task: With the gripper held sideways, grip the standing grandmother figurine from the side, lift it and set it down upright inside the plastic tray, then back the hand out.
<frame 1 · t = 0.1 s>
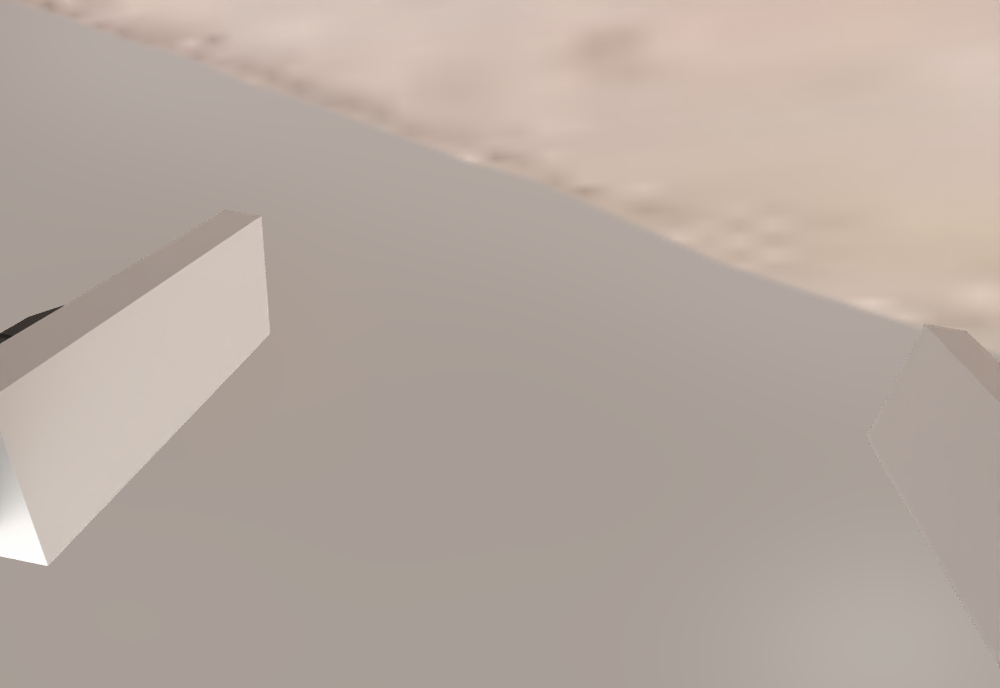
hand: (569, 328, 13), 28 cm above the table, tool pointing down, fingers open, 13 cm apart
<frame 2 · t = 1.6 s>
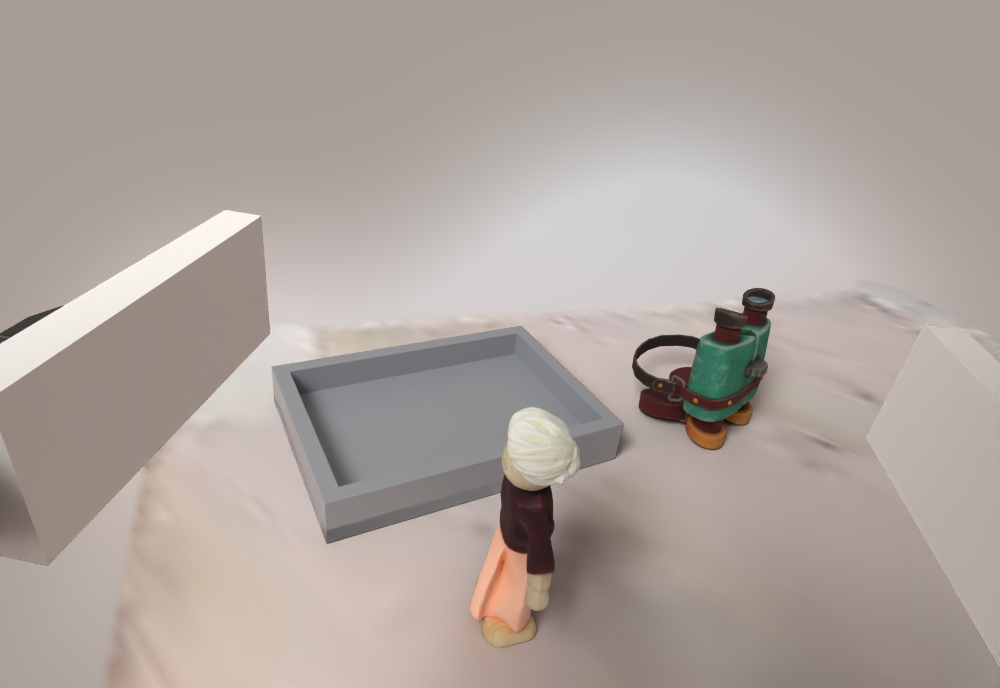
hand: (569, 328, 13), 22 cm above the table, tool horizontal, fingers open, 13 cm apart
binoculars: (681, 411, 51), on the table
tray: (442, 429, 45), on the table
grandmother figurine: (505, 619, 33), on the table
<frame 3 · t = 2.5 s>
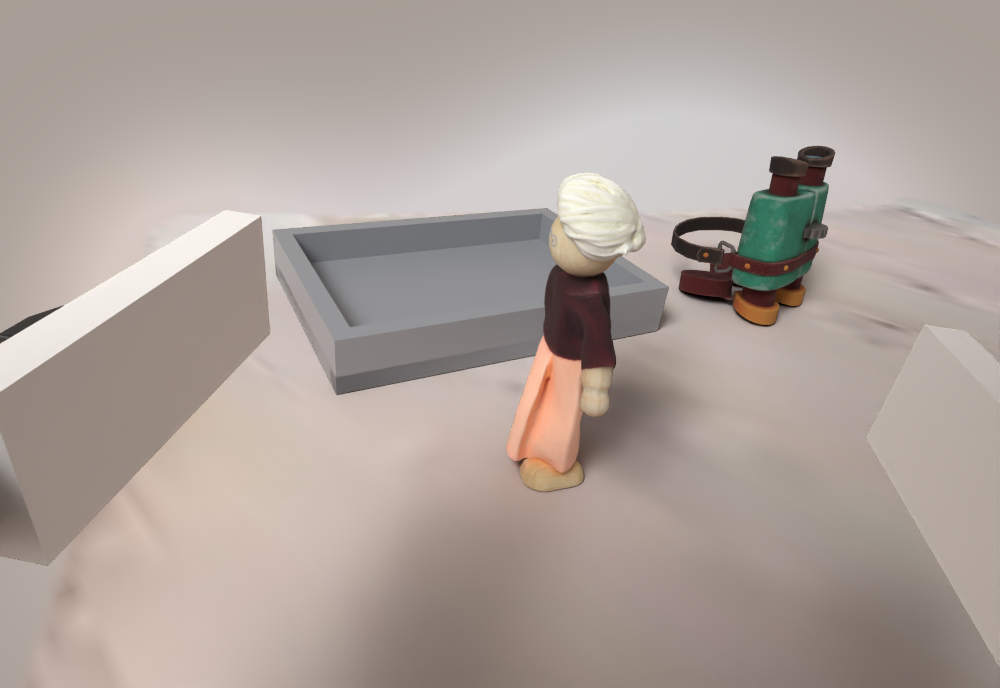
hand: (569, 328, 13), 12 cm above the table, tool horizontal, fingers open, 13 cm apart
binoculars: (725, 295, 46), on the table
tray: (463, 301, 40), on the table
grandmother figurine: (546, 467, 28), on the table
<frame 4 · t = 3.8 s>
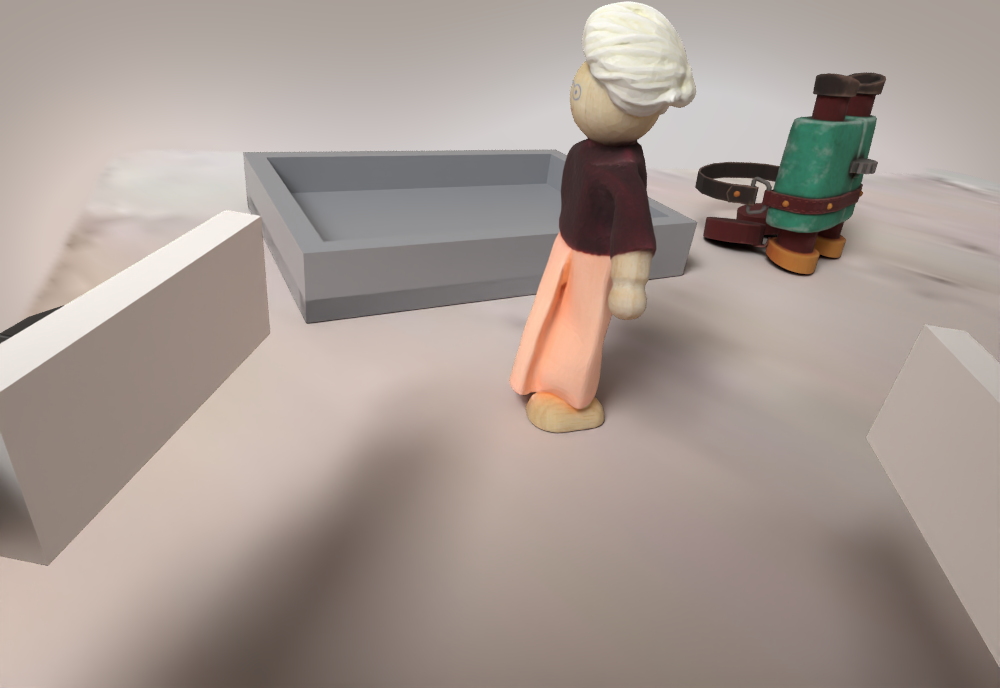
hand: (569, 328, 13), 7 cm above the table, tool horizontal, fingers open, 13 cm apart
binoculars: (755, 246, 41), on the table
tray: (461, 240, 35), on the table
grandmother figurine: (557, 407, 23), on the table
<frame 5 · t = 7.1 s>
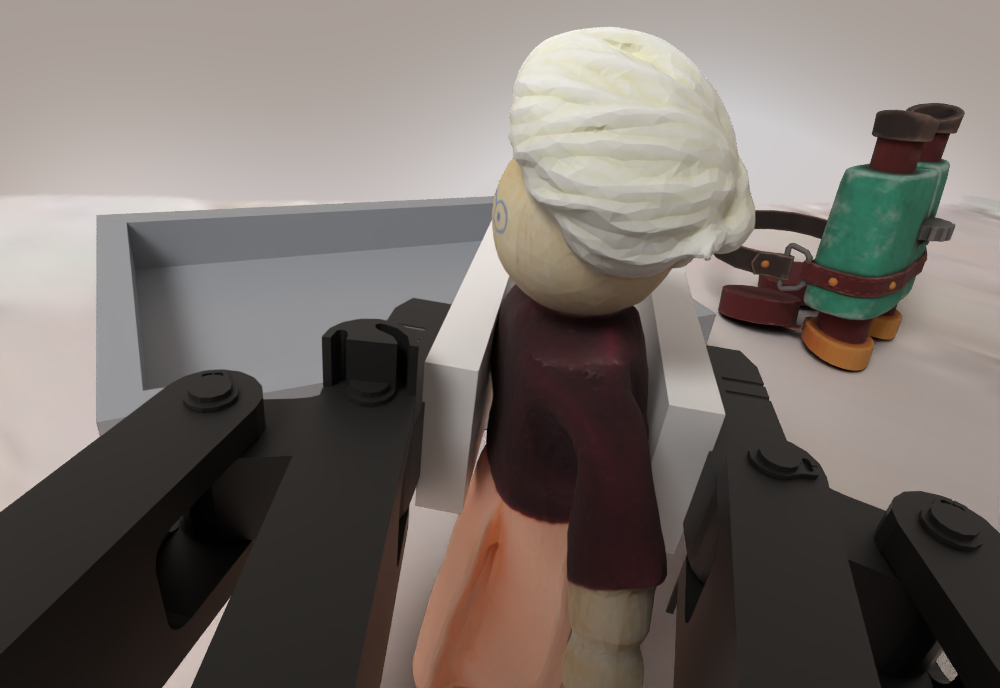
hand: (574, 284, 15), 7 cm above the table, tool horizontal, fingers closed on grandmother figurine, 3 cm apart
binoculars: (784, 321, 32), on the table
tray: (396, 330, 26), on the table
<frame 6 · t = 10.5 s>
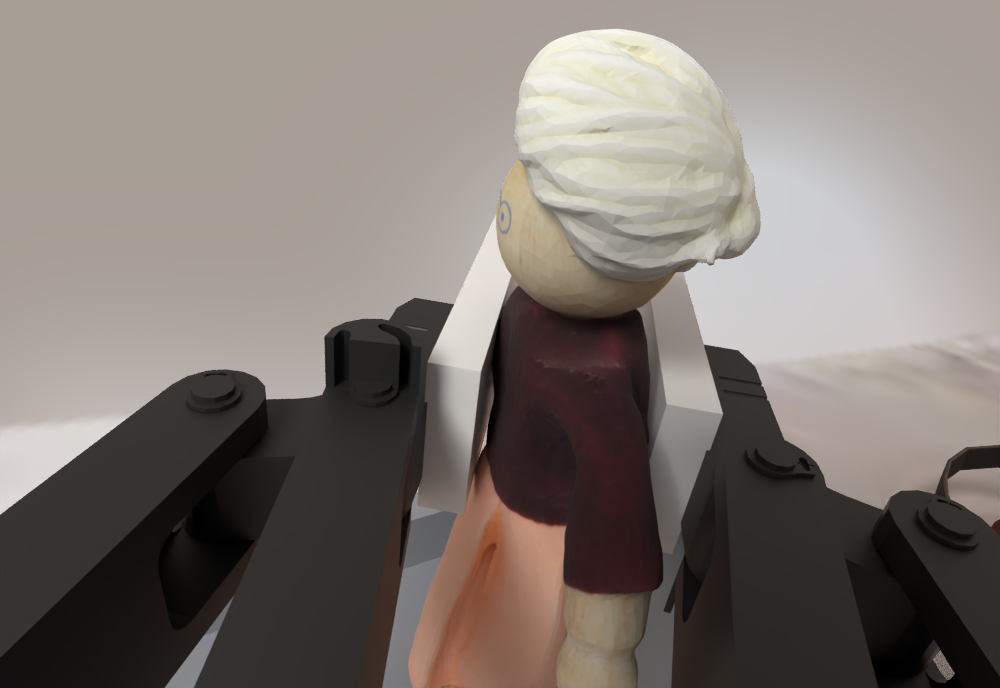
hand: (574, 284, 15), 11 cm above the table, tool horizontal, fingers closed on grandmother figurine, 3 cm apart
when the fingers open (10 cm above the table, at t = 10.9 s): grandmother figurine drops 1 cm, resting on tray.
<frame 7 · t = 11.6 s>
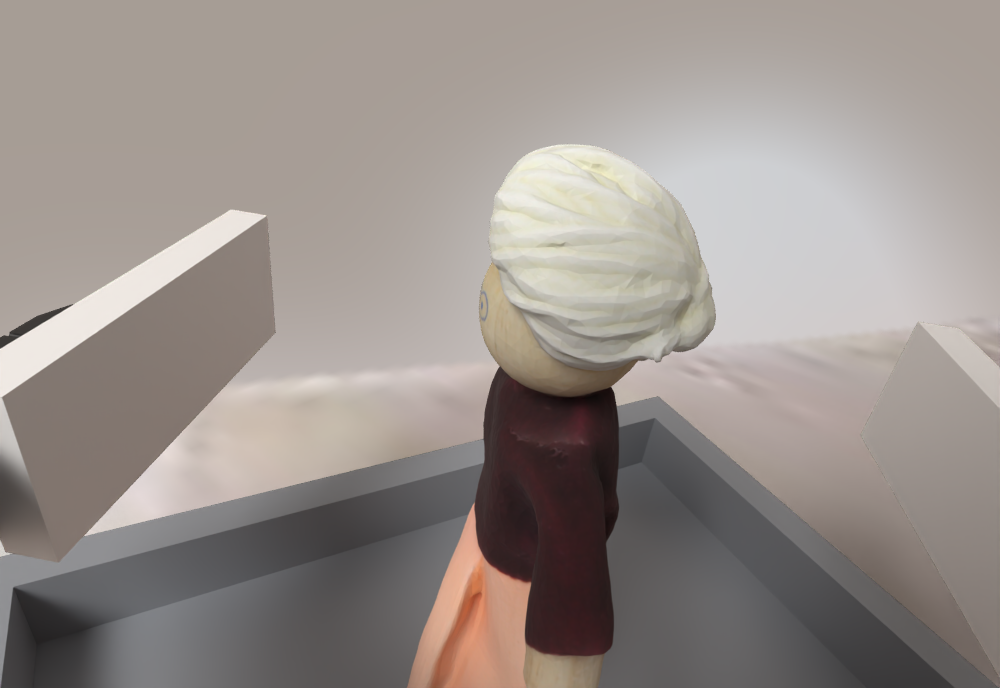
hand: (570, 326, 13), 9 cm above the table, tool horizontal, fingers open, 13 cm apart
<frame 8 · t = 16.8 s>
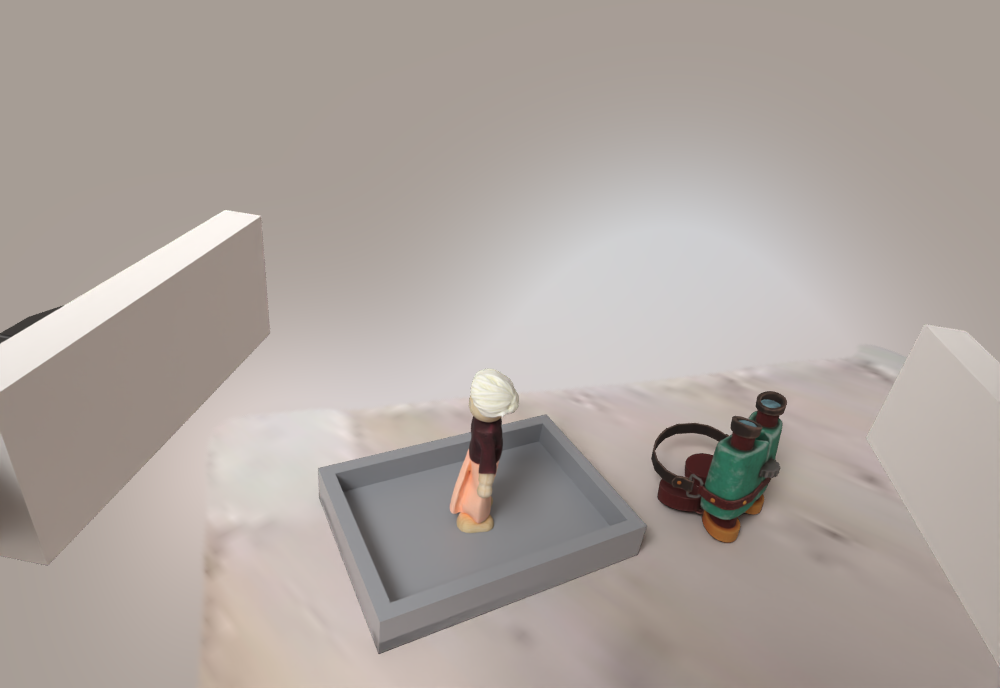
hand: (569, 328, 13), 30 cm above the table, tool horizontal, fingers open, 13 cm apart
binoculars: (697, 498, 54), on the table
tray: (476, 525, 48), on the table
grandmother figurine: (474, 518, 48), point 1 cm above the table, touching tray
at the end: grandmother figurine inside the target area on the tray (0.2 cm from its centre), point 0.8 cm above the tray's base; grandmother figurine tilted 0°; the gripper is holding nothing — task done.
